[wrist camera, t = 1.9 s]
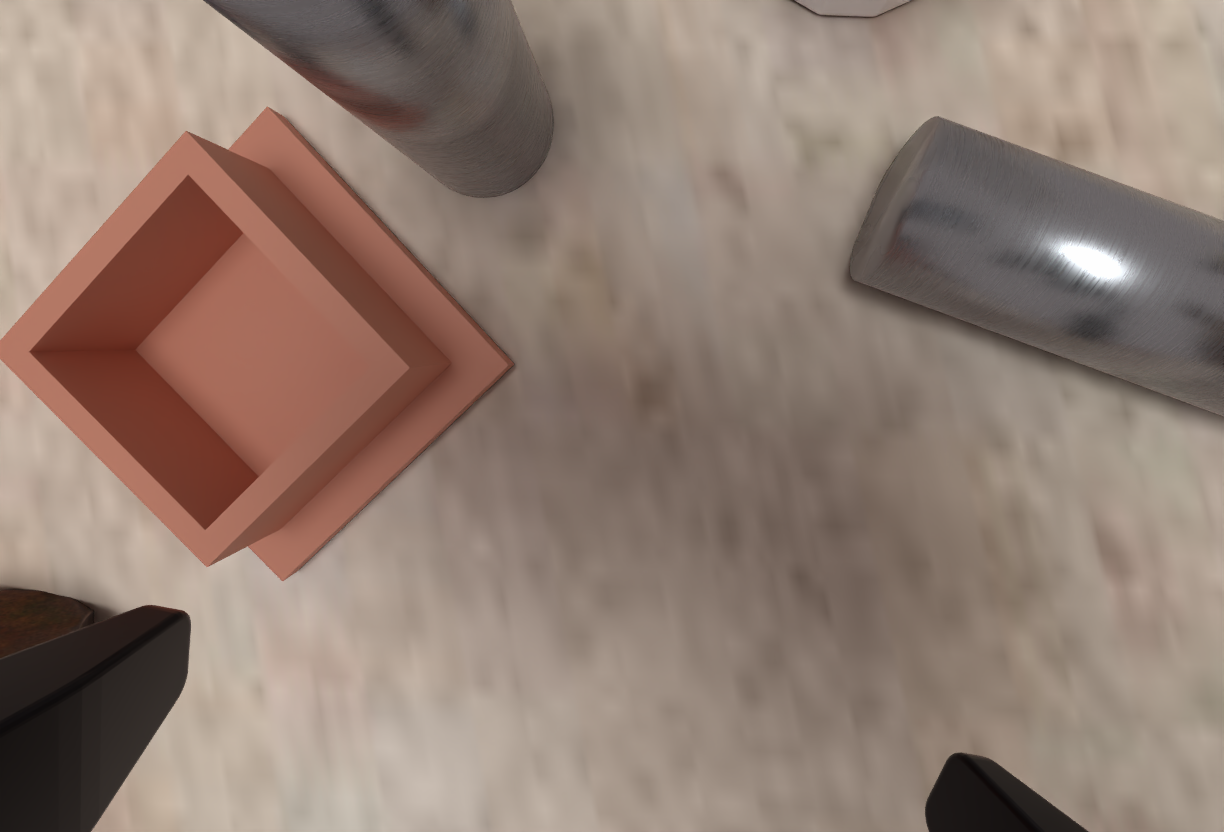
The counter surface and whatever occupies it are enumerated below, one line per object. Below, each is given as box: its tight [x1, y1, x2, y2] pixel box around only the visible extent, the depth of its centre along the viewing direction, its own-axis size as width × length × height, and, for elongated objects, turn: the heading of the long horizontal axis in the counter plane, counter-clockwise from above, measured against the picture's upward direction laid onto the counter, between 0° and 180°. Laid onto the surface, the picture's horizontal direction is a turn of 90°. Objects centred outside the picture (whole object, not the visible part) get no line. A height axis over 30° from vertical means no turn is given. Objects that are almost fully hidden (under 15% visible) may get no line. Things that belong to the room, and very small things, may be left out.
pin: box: [850, 116, 1224, 416], centre depth 16 cm, size 12×4×4 cm, turn 70°
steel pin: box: [203, 0, 553, 198], centre depth 12 cm, size 5×5×13 cm
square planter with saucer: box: [0, 107, 514, 581], centre depth 17 cm, size 10×10×4 cm
